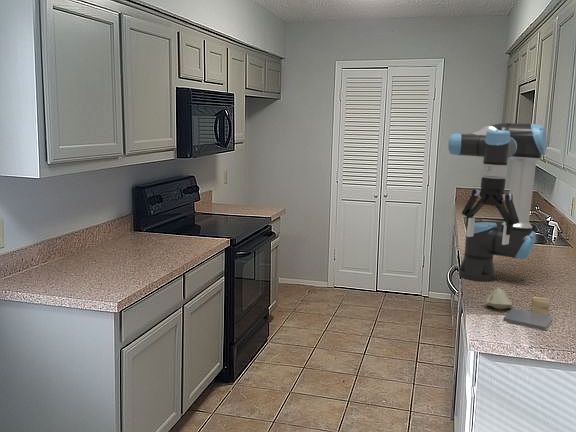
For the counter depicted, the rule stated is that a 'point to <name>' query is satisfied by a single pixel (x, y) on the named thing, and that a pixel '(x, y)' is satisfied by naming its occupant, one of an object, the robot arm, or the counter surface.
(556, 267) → the counter surface
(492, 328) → the counter surface
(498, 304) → the seashell
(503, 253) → the robot arm
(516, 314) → the plate
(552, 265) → the counter surface
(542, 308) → the oak block
